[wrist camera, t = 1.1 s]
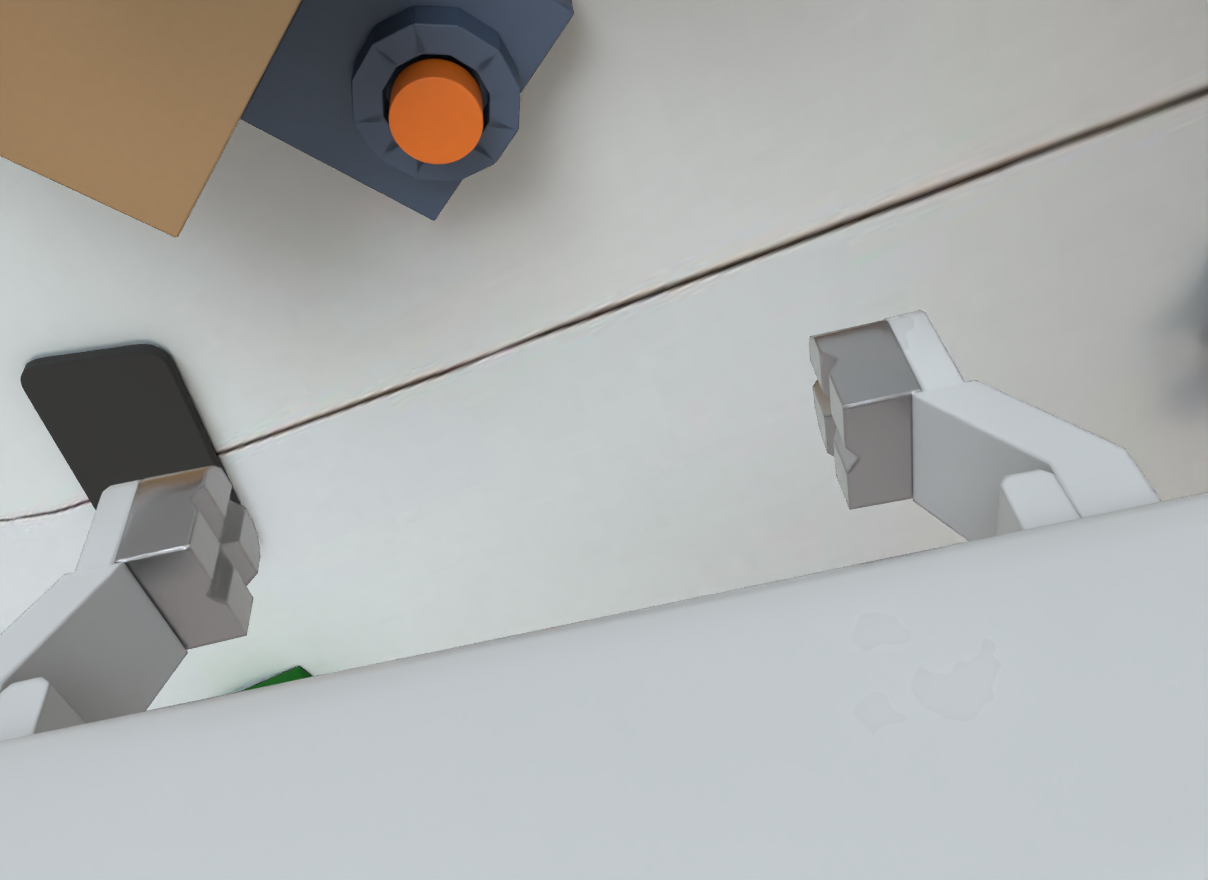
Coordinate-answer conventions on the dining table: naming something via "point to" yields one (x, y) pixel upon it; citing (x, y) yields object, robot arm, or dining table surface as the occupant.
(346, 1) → the panel
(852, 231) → the dining table surface
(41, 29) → the lid
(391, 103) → the release button
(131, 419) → the phone
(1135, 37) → the dining table surface
